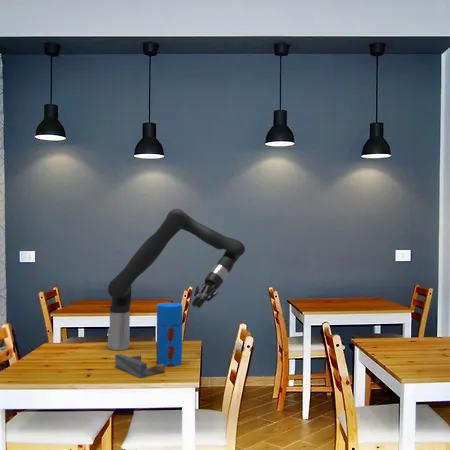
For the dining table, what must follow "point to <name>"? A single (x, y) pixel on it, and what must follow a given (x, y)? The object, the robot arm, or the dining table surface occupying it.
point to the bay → (137, 366)
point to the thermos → (169, 334)
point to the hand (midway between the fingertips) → (195, 306)
